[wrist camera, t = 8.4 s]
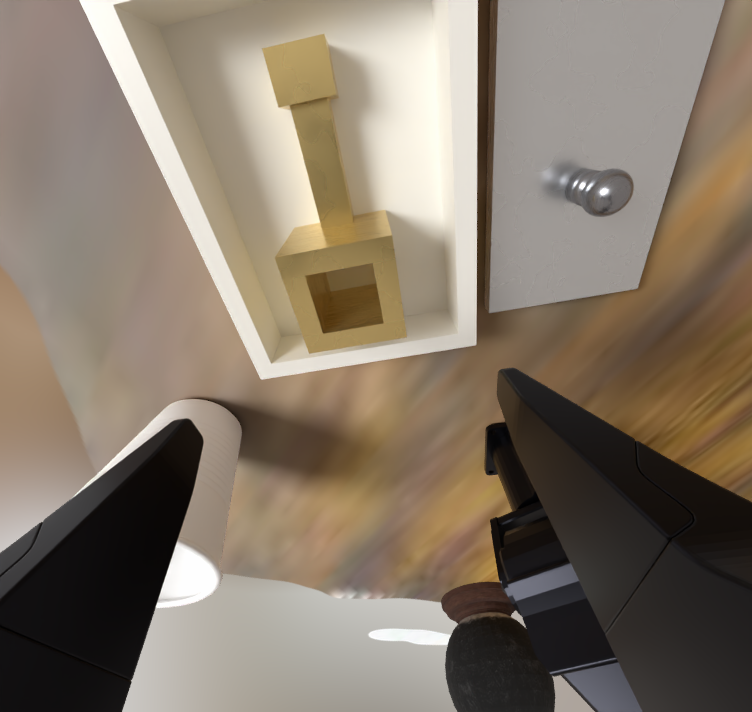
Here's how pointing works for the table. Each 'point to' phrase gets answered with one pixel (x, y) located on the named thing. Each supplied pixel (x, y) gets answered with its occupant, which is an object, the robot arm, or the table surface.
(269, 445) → the table surface
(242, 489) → the table surface
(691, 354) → the table surface
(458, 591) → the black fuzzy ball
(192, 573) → the cup
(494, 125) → the stud plate
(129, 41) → the bin
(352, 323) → the strut
